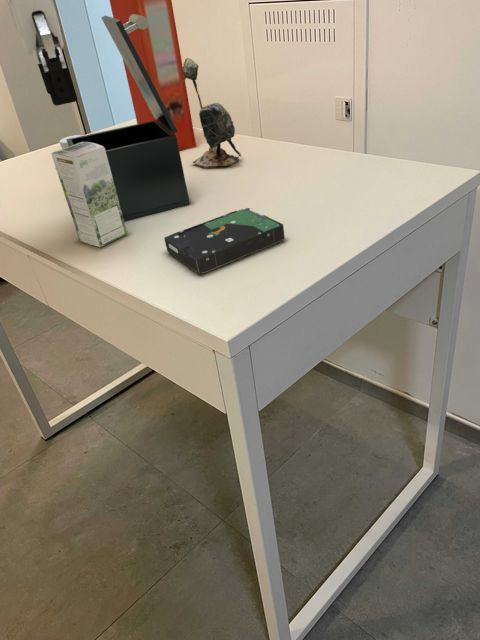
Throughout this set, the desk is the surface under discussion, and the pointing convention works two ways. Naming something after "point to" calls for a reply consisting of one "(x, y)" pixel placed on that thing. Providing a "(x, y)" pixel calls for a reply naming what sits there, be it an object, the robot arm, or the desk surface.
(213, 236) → the disk drive
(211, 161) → the plant with pod
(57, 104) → the robot arm
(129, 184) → the bin
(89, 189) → the syrup box
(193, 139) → the file binder
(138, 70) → the bin lid
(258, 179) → the desk surface
